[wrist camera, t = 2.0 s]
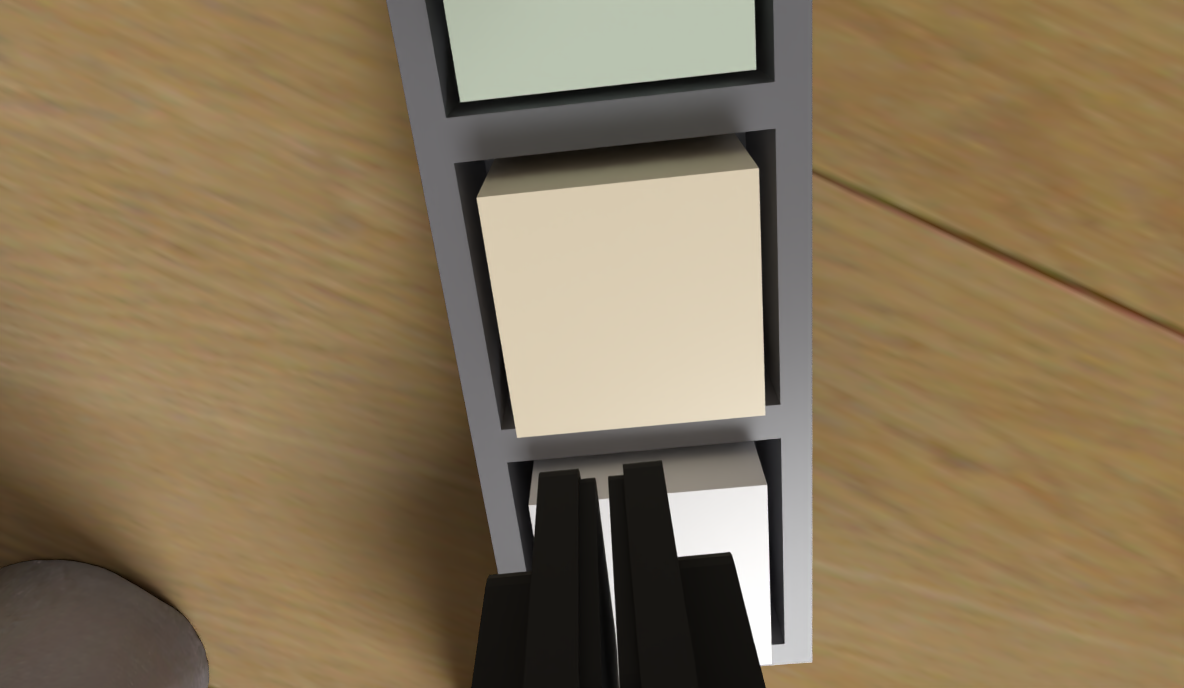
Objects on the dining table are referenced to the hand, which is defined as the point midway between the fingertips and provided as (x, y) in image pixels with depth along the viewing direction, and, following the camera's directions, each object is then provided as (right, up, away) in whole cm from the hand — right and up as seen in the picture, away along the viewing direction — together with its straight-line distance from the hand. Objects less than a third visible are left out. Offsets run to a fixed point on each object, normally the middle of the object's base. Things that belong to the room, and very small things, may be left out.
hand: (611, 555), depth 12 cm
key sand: (+1, +5, +11) cm, 13 cm away
